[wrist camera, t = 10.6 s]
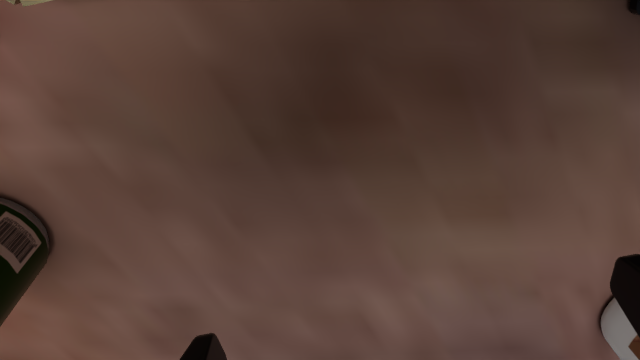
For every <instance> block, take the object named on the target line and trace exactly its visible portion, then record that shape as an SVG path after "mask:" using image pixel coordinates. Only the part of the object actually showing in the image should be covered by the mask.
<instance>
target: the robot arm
mask: <svg viewBox="0 0 640 360" xmlns="http://www.w3.org/2000/svg"><path fill="white" fill-rule="evenodd" d="M630 11H631V12H632V13H634V14H637V15H640V0H630ZM610 288H611V292H612V294H613V296H614V297H615V299H616V301H617V302H618V304H619V306H620V307H621V309H622V310H623V312H624V314H625V315H626V317H627V319H628V320H629V322H630V324H631V325H632V327H633V328H634V330H635V332H636V333H637V335H638V337H639V338H640V255H639V254H633V255H628V256H622V257H619V258H618V259H617V260H616V262H615V266H614V269H613V273H612V277H611V281H610ZM180 360H227V358H226V355H225V352H224V350H223V348H222V346H221V344H220V342H219V340H218V338H217V336H216V335H215V334H214V333H209V334H204V335H199V336H197V337H195V338H194V339H193V341H192V342H191V344H190V345H189V347H188V348H187V350H186V351H185V352H184V354H183V355H182V357H181V358H180Z"/></svg>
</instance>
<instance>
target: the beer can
mask: <svg viewBox="0 0 640 360" xmlns="http://www.w3.org/2000/svg"><path fill="white" fill-rule="evenodd" d="M48 253H49V238H48V234H47V230H46V229H45V227H44V226H43V224H42V223H41V221H40V220H39V219H38V218H37V217H36V216H35V215H34V214H32V213H31V212H30V211H29V210H28V209H26V208H24V207H22V206H20V205H19V204H17V203H15V202H13V201H10V200H7V199H3V198H0V326H1V325H2V323H3V322H4V321H5V319H6V318H7V317H8V315H9V314H10V312H11V311H12V310H13V308H14V307H15V305H16V304H17V303H18V301H19V300H20V299H21V297H22V296H23V294H24V293H25V292H26V290H27V289H28V287H29V286H30V285H31V283H32V282H33V281H34V279H35V278H36V276H37V275H38V274H39V272H40V271H41V269H42V268H43V267H44V265H45V264H46V262H47V257H48Z"/></svg>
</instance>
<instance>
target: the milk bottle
mask: <svg viewBox="0 0 640 360" xmlns="http://www.w3.org/2000/svg"><path fill="white" fill-rule="evenodd" d="M601 329H602V333H603V336H604V338H605V339H606V341H607V342H608V343H609V345H610V346H611V347H612V349H613V350H614V351H615V353H616V354H617V355H618V357H619V358H620V359H621V360H640V338H639V337H638V335H637V333H636V332H635V330H634V328H633V327H632V325H631V324H630V322H629V320H628V319H627V317H626V315H625V314H624V312H623V310H622V309H621V307H620V306H619V304H618V302H617V301H616V299H615V297H614V298H613V300H612V301H611V302H610V303H609V304H608V306H607V307H606V308H605V310H604V312H603V315H602V317H601Z"/></svg>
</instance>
